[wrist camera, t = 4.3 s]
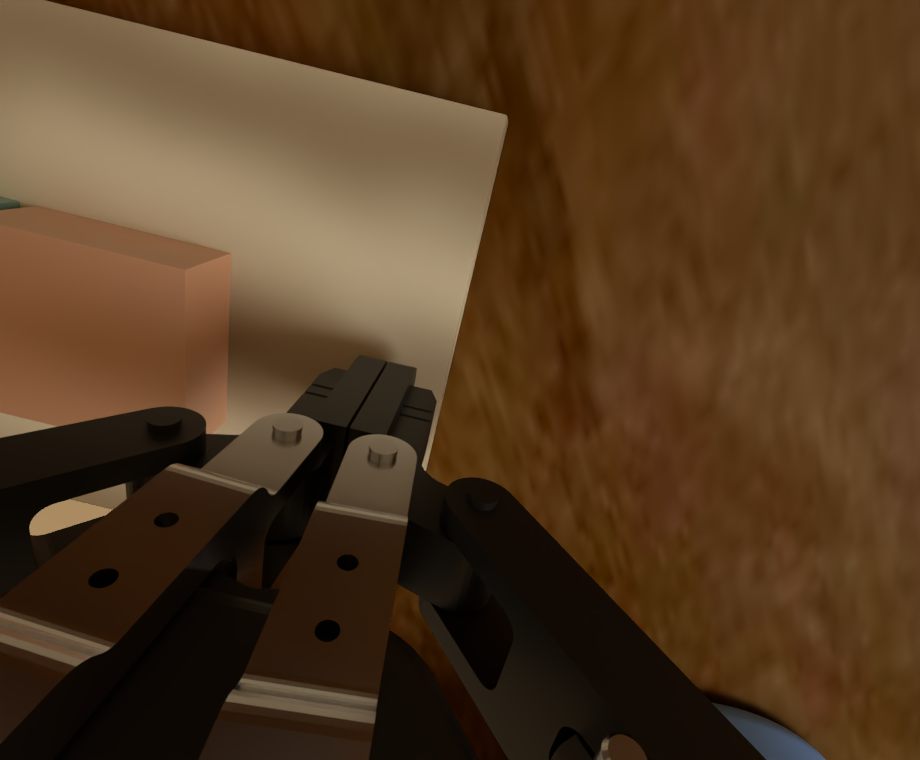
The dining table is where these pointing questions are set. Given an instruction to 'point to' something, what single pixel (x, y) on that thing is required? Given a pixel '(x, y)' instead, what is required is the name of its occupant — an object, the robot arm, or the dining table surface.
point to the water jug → (769, 736)
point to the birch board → (257, 191)
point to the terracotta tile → (108, 320)
